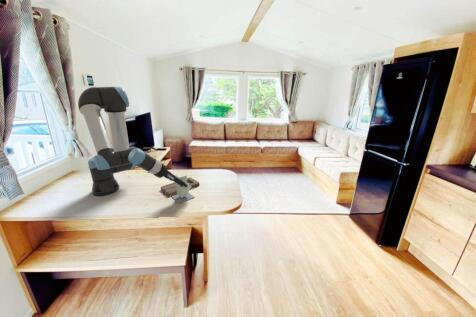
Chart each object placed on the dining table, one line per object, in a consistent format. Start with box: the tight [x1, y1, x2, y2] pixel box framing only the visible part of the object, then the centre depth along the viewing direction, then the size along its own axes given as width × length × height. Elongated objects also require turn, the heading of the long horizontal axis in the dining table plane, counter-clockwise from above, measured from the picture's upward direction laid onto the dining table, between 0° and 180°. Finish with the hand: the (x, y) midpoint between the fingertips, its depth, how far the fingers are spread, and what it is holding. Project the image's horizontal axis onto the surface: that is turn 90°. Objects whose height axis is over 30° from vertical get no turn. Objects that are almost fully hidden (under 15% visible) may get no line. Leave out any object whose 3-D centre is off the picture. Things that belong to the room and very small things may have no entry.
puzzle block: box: [174, 172, 190, 198], centre depth 123 cm, size 5×5×13 cm
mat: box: [171, 192, 195, 204], centre depth 126 cm, size 10×10×1 cm
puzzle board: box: [160, 176, 200, 197], centre depth 138 cm, size 12×22×2 cm, turn 132°
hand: (187, 186), depth 126 cm, fingers closed on puzzle block, 5 cm apart
